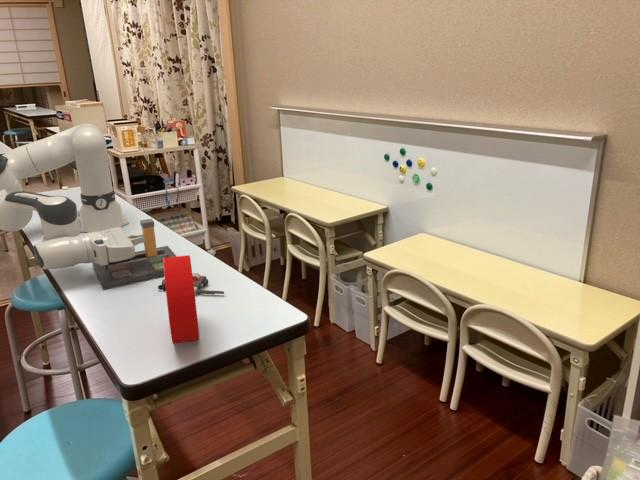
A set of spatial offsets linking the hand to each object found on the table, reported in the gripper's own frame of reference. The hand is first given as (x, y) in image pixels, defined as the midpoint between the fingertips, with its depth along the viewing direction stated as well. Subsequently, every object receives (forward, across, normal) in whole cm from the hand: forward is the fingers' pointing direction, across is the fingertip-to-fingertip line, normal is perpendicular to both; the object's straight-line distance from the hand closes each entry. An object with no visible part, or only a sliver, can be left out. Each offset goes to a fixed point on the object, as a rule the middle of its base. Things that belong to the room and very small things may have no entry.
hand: (144, 238), depth 156 cm
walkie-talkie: (+8, +23, -10) cm, 26 cm away
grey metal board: (-3, 0, -10) cm, 10 cm away
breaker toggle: (+2, 0, -8) cm, 8 cm away
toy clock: (-2, +47, -10) cm, 48 cm away
